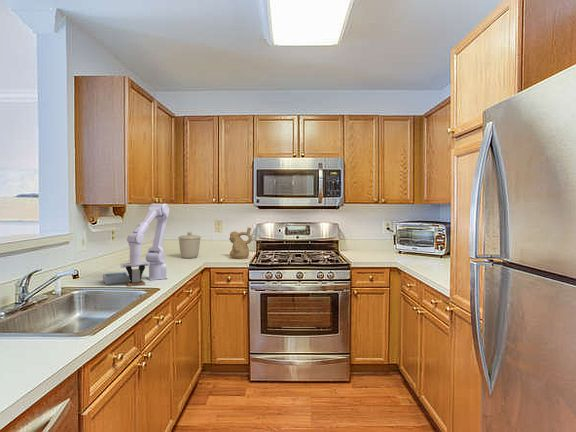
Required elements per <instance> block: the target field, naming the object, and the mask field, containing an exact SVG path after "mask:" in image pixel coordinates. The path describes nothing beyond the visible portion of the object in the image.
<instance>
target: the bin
mask: <svg viewBox="0 0 576 432" xmlns="http://www.w3.org/2000/svg"><path fill="white" fill-rule="evenodd" d="M126 281H130V277H129V274H128V272H127V271H126V272H125V271H124V272H123V271H122V272H113V273H103V274H102V282H103V284H104V285H105V286H113V284H114V285H120V284H121V285H122V284H126Z"/></svg>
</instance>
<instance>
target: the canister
mask: <svg viewBox="0 0 576 432" xmlns="http://www.w3.org/2000/svg"><path fill="white" fill-rule="evenodd" d="M177 238H178V244H179V252H180V256H181V258H182V259H195V258H197V257H199V254H200V253H199V251H200V245H201V238H202V236H200V235H197V234H193V232H192V231H188V232H187V233H186V234H184V235H179V237H177Z"/></svg>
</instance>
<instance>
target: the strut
mask: <svg viewBox="0 0 576 432" xmlns="http://www.w3.org/2000/svg"><path fill="white" fill-rule="evenodd" d="M133 283H140V270H139V268H132V281H131V284H133Z"/></svg>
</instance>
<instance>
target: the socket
mask: <svg viewBox="0 0 576 432" xmlns="http://www.w3.org/2000/svg"><path fill="white" fill-rule="evenodd" d="M125 284H126V285H127V286H128V287H137V286H138V287H139V286H146V282H145V281H144V280H143V279H141V280H140V283H133V284H131V281H126V283H125Z"/></svg>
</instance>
